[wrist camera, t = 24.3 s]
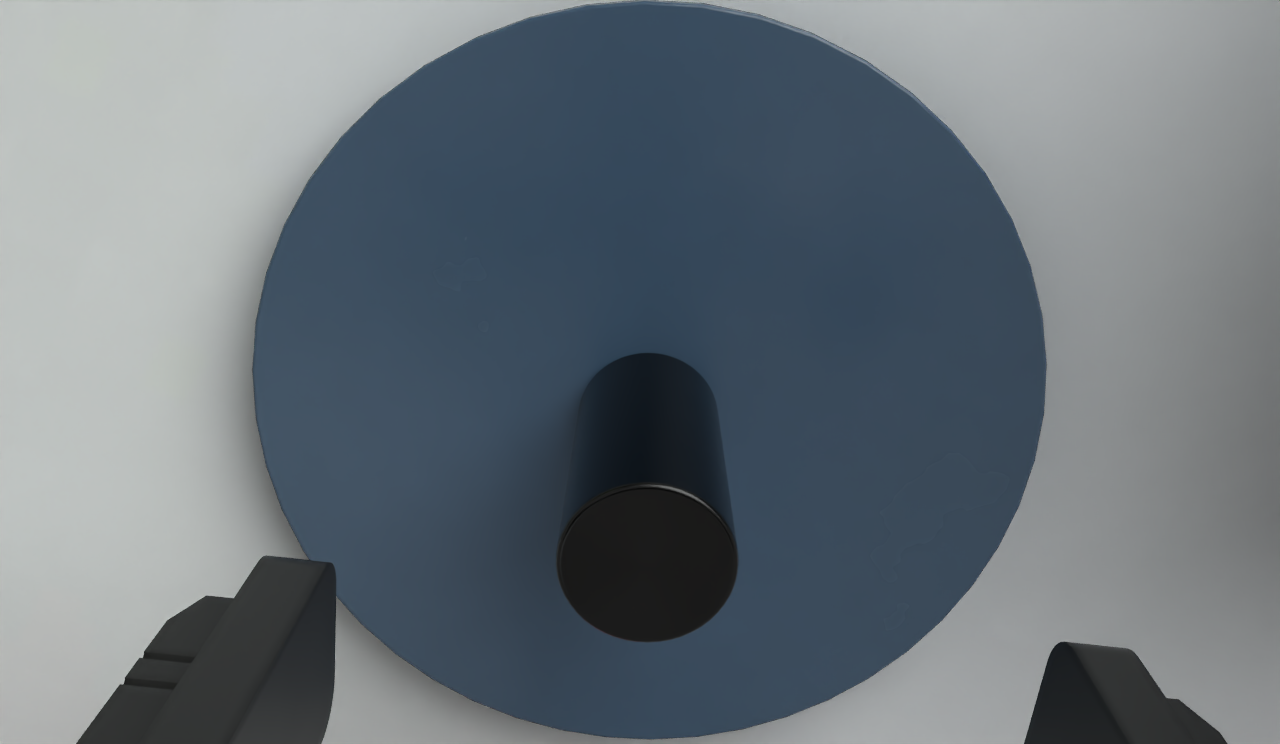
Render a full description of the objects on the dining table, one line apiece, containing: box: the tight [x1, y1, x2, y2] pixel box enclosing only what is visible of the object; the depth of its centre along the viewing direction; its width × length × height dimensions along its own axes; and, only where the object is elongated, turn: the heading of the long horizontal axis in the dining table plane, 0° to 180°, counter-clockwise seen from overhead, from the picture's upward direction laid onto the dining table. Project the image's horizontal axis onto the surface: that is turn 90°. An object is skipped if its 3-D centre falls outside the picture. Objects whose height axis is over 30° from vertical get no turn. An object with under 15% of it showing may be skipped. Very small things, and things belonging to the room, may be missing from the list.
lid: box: [252, 0, 1047, 739], centre depth 17 cm, size 14×14×6 cm
